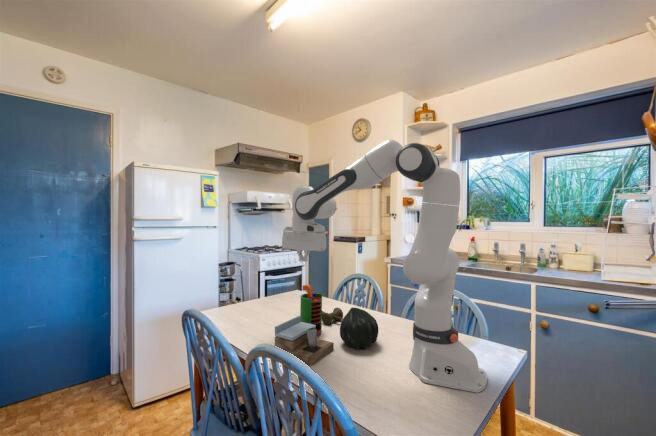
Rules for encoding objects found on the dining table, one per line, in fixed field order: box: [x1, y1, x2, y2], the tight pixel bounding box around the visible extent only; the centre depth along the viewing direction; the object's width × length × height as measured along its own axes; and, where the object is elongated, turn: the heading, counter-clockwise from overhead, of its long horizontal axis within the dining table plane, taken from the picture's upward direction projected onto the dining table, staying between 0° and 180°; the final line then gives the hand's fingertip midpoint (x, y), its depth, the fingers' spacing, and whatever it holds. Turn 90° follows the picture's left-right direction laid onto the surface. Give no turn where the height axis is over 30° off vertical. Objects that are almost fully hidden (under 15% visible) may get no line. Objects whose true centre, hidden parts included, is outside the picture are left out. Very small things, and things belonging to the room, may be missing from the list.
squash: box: [339, 307, 379, 350], centre depth 114 cm, size 14×15×15 cm
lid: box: [274, 315, 316, 341], centre depth 110 cm, size 8×14×3 cm, turn 148°
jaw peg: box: [307, 328, 318, 353], centre depth 105 cm, size 3×3×9 cm
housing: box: [274, 333, 335, 367], centre depth 107 cm, size 16×14×6 cm
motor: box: [299, 284, 323, 337], centre depth 124 cm, size 10×9×20 cm
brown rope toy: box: [322, 307, 344, 326], centre depth 140 cm, size 6×10×20 cm
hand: (303, 261), depth 120 cm, fingers closed
